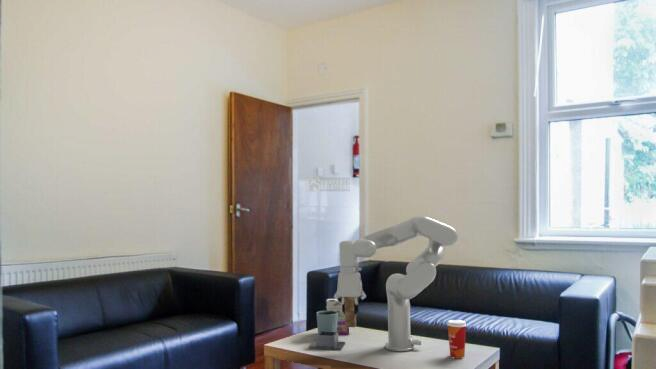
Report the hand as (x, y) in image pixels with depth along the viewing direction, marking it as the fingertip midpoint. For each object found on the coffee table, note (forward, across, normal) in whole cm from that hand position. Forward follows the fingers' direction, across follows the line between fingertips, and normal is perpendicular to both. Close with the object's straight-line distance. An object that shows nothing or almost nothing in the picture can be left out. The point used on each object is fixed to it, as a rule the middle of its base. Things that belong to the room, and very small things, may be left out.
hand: (350, 313), depth 210 cm
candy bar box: (+16, +12, -29) cm, 35 cm away
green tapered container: (+16, +15, -19) cm, 29 cm away
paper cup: (+17, -43, -2) cm, 46 cm away
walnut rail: (+5, 0, 0) cm, 5 cm away
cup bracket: (+16, +12, -6) cm, 21 cm away
